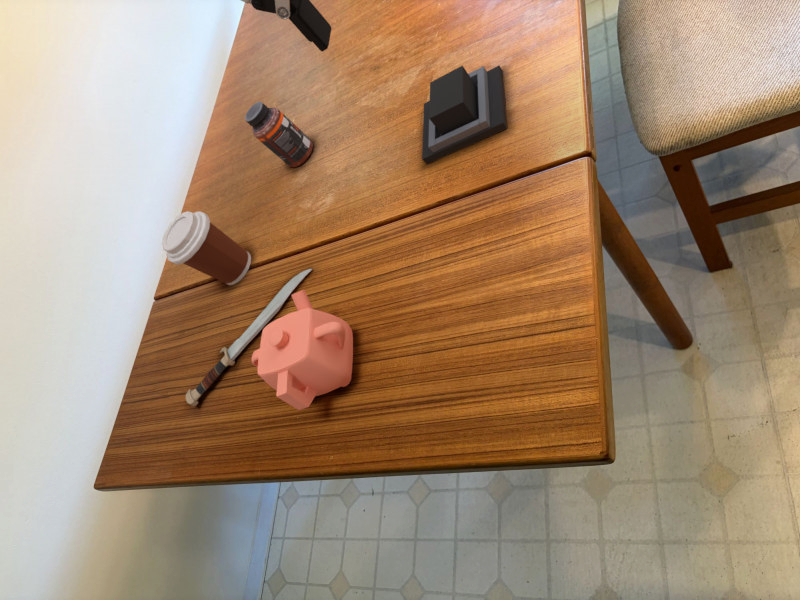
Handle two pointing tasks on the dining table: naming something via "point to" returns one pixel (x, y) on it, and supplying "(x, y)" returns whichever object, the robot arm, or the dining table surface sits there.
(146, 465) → the dining table surface
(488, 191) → the dining table surface
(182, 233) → the coffee cup
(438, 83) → the black block
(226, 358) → the knife
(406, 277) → the dining table surface
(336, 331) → the teapot
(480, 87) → the base pad
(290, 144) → the supplement bottle
